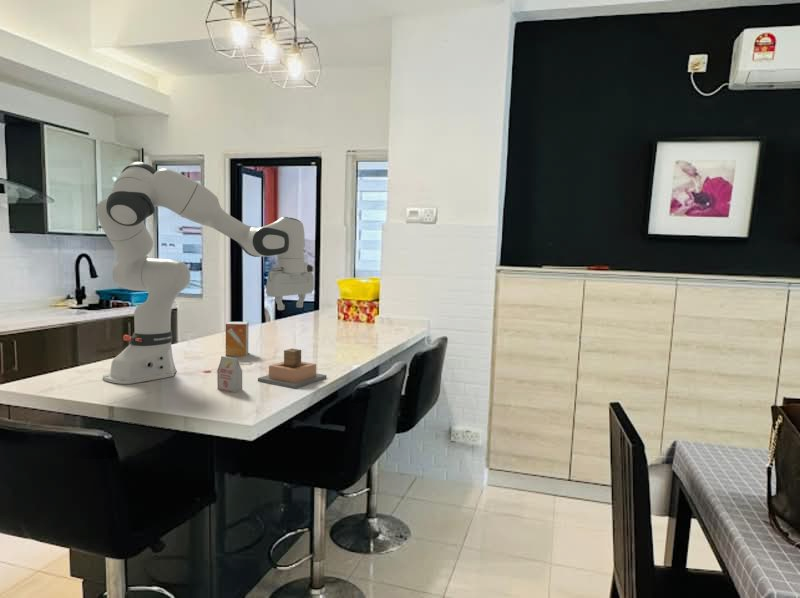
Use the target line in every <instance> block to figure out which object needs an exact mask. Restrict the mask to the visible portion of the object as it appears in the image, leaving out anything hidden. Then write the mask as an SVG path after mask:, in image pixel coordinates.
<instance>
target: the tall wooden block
mask: <svg viewBox="0 0 800 598" xmlns="http://www.w3.org/2000/svg"><path fill="white" fill-rule="evenodd" d="M283 362H284V367H290V368H297V367H300V366H301V362H302V349H297V348H289V349H288V348H287V349H284V350H283Z"/></svg>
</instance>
